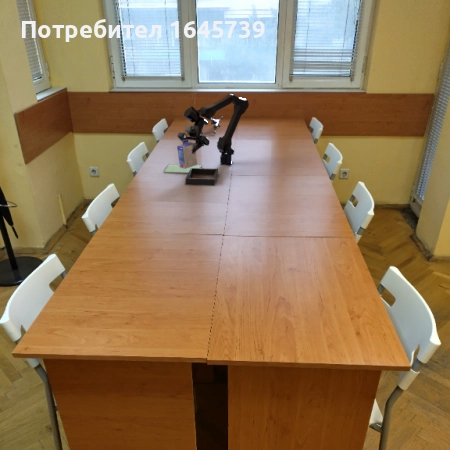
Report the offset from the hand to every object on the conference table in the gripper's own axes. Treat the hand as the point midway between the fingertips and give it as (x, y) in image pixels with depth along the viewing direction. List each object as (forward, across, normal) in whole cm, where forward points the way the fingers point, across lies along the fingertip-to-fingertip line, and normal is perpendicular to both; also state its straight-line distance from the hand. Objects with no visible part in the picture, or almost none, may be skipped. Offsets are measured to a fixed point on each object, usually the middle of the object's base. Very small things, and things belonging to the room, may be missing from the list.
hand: (188, 152), depth 254 cm
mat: (+4, -9, +14) cm, 18 cm away
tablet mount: (-61, -52, +69) cm, 106 cm away
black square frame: (+11, +10, +8) cm, 17 cm away
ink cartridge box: (+6, 0, +5) cm, 8 cm away
